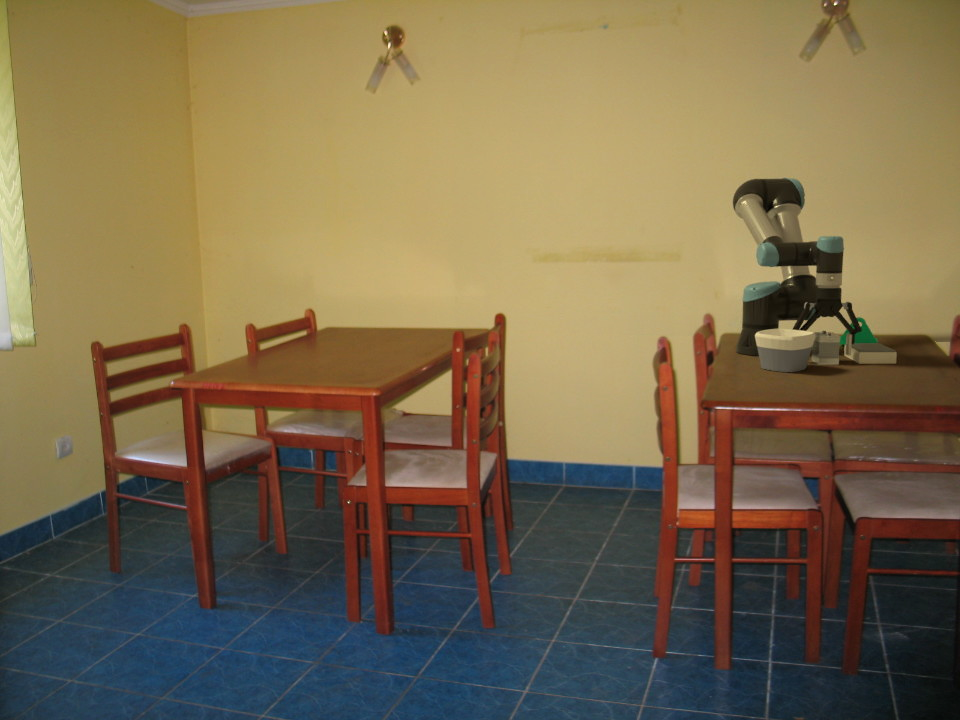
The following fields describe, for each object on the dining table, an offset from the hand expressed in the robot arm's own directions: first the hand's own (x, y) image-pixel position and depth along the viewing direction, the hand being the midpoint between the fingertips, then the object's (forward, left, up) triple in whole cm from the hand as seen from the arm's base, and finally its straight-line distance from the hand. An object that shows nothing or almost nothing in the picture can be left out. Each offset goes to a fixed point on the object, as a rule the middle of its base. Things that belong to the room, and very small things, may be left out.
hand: (825, 355), depth 279 cm
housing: (0, 0, -2) cm, 2 cm away
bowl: (-15, -10, -3) cm, 19 cm away
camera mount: (+20, +32, -3) cm, 37 cm away
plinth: (+15, +5, -2) cm, 16 cm away
